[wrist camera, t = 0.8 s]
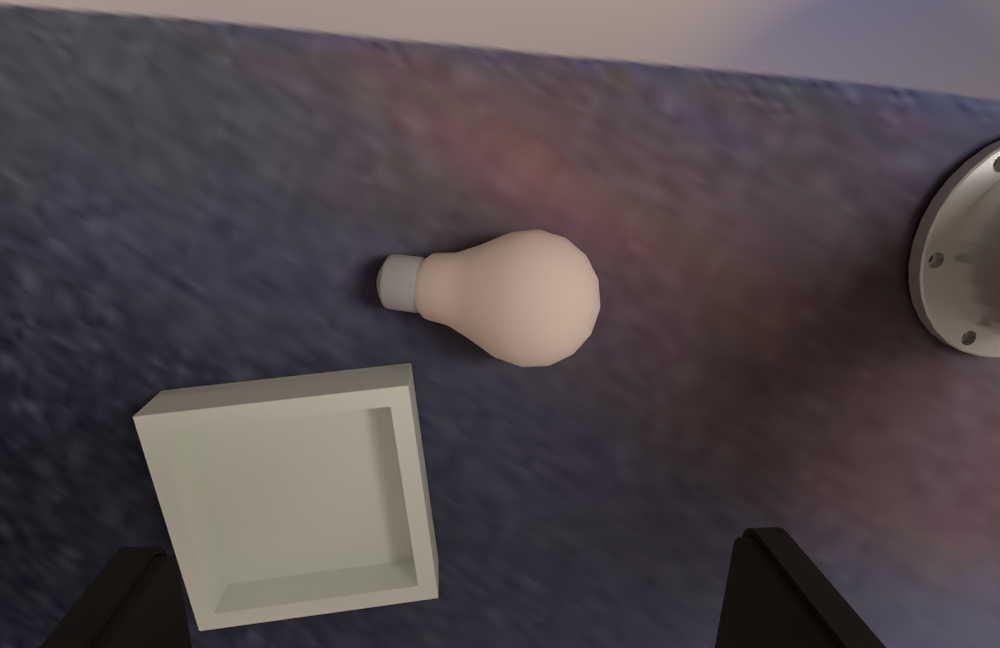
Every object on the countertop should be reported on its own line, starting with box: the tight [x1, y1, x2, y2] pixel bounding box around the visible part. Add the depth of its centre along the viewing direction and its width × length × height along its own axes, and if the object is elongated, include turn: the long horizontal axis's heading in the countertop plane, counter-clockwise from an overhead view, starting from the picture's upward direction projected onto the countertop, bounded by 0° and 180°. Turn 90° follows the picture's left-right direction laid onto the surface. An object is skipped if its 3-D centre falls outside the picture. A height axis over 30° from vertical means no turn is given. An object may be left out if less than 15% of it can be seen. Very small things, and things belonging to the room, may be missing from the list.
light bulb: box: [375, 229, 600, 367], centre depth 28 cm, size 7×7×11 cm
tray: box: [133, 363, 439, 631], centre depth 31 cm, size 13×13×3 cm
